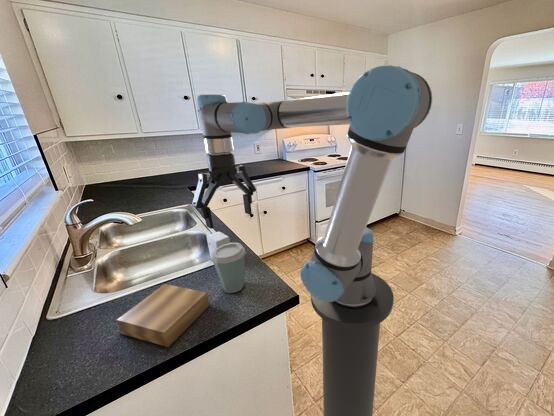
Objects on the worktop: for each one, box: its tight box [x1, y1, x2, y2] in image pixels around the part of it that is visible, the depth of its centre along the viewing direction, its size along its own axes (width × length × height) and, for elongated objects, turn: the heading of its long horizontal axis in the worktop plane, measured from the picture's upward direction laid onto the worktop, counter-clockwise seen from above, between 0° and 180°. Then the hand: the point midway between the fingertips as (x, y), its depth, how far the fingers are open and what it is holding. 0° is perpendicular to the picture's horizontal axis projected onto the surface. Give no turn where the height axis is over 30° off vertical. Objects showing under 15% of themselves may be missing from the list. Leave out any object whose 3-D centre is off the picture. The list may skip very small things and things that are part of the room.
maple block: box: [116, 283, 210, 348], centre depth 77 cm, size 16×16×5 cm
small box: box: [205, 231, 231, 260], centre depth 106 cm, size 8×6×10 cm
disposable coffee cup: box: [211, 242, 246, 294], centre depth 89 cm, size 11×11×15 cm
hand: (230, 220), depth 85 cm, fingers open, 13 cm apart
